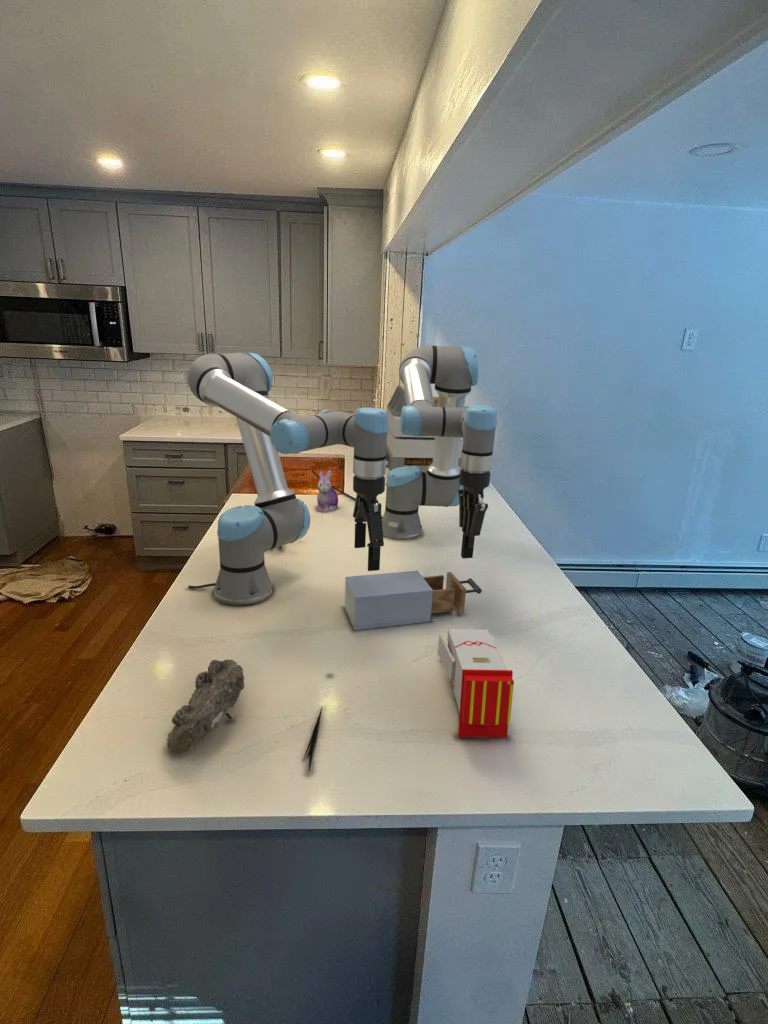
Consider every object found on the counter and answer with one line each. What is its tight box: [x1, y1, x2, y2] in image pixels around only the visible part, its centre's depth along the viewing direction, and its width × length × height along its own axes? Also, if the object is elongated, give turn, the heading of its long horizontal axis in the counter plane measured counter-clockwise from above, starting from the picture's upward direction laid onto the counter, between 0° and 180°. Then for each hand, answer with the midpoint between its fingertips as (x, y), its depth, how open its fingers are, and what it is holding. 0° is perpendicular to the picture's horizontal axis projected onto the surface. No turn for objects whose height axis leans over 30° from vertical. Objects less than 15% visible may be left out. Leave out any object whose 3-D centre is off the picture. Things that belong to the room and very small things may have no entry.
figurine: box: [316, 469, 339, 512], centre depth 219 cm, size 9×10×15 cm
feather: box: [301, 673, 332, 771], centre depth 108 cm, size 2×28×2 cm
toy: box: [437, 628, 515, 738], centre depth 117 cm, size 12×13×30 cm
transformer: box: [385, 384, 463, 471], centre depth 268 cm, size 34×33×41 cm
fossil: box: [166, 658, 245, 754], centre depth 106 cm, size 22×10×15 cm
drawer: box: [422, 571, 483, 614], centre depth 149 cm, size 24×10×7 cm, turn 106°
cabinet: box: [344, 570, 433, 631], centre depth 146 cm, size 20×12×9 cm, turn 106°
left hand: (366, 558), depth 140 cm, fingers open, 13 cm apart
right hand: (466, 556), depth 148 cm, fingers closed
